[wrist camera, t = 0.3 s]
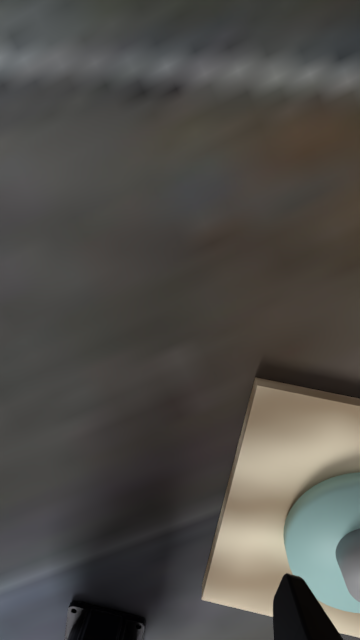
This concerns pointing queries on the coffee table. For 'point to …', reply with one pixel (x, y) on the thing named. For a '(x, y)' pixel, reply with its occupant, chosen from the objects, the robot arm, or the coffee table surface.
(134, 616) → the robot arm
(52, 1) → the coffee table surface
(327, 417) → the post board
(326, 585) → the flange
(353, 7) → the coffee table surface
